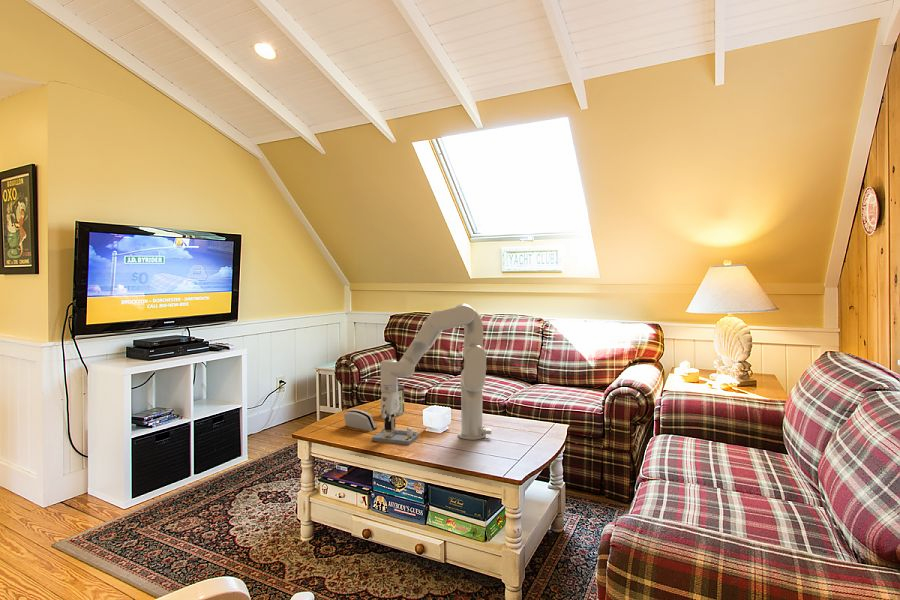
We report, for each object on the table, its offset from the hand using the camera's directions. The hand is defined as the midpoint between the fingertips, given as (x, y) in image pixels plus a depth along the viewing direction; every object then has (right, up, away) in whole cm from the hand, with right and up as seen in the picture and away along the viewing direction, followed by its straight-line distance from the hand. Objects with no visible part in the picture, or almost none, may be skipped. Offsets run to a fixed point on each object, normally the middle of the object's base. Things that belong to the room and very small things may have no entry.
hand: (390, 428), depth 222 cm
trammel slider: (0, -3, -1) cm, 3 cm away
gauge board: (+2, -5, -1) cm, 5 cm away
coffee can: (-3, -3, +41) cm, 42 cm away
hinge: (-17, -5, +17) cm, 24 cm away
